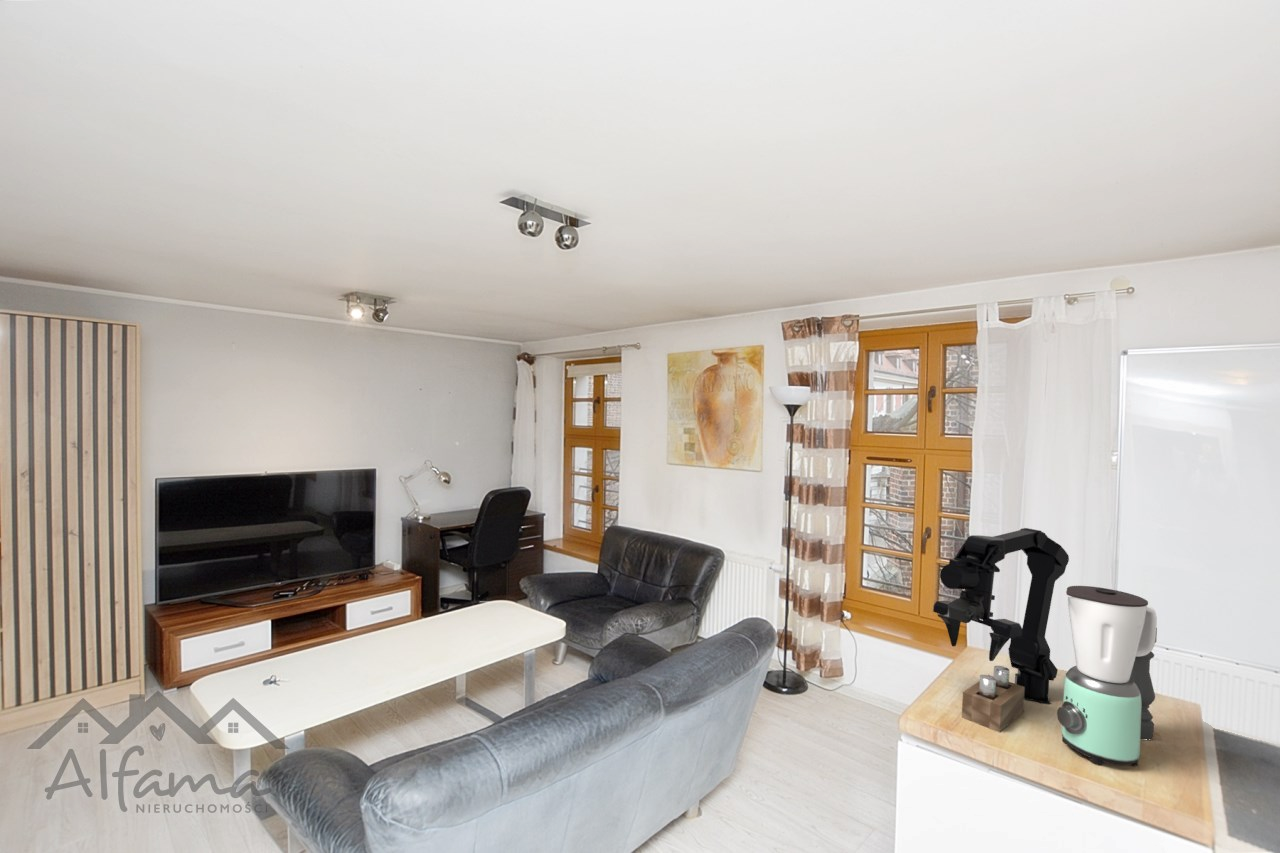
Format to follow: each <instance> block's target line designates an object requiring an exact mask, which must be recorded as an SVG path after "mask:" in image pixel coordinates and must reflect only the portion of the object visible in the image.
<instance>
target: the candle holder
mask: <svg viewBox="0 0 1280 853" xmlns="http://www.w3.org/2000/svg"><path fill="white" fill-rule="evenodd" d="M1157 633H1158V628H1157V627H1156V639H1155V644H1156V643H1157V638H1158V637H1157V636H1158V634H1157ZM1154 657H1155V654H1154V653H1153V652H1152V651H1151V652H1150V653H1148V654H1147V655H1145V656H1140V657H1135V661H1134V665H1133V668H1132V672H1131V676H1130V679H1131V680H1132V681H1133V682H1134V683H1135V684H1136V685H1137V687H1138V689H1139V691H1140V693H1141V701H1142V708H1141V735H1140V740H1141V739H1147V740H1146V741H1150V740H1149V739H1152V738H1153V739H1154V732H1155V731H1154V730H1155V724H1154V721H1153V720H1152V719H1154V716H1153V715H1152V713H1151V712H1150V710H1149V709H1150V706H1151V705H1152V704H1153V702H1154V701H1155V700H1156V694H1155V689H1154V686H1153V682H1152V677H1151V674H1150V670H1151V669H1150V668H1151V665H1150V664H1151V660H1152V659H1153V658H1154ZM1153 739H1152V740H1153Z"/></svg>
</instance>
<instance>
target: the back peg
mask: <svg viewBox="0 0 1280 853" xmlns="http://www.w3.org/2000/svg"><path fill="white" fill-rule="evenodd" d="M993 677H994V678H995V679H996V686H998V687H1001V688H1004V689H1008V688H1009V682H1010V669H1009V668H1008V667H1006V666H1004V665H994V666H993Z"/></svg>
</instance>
